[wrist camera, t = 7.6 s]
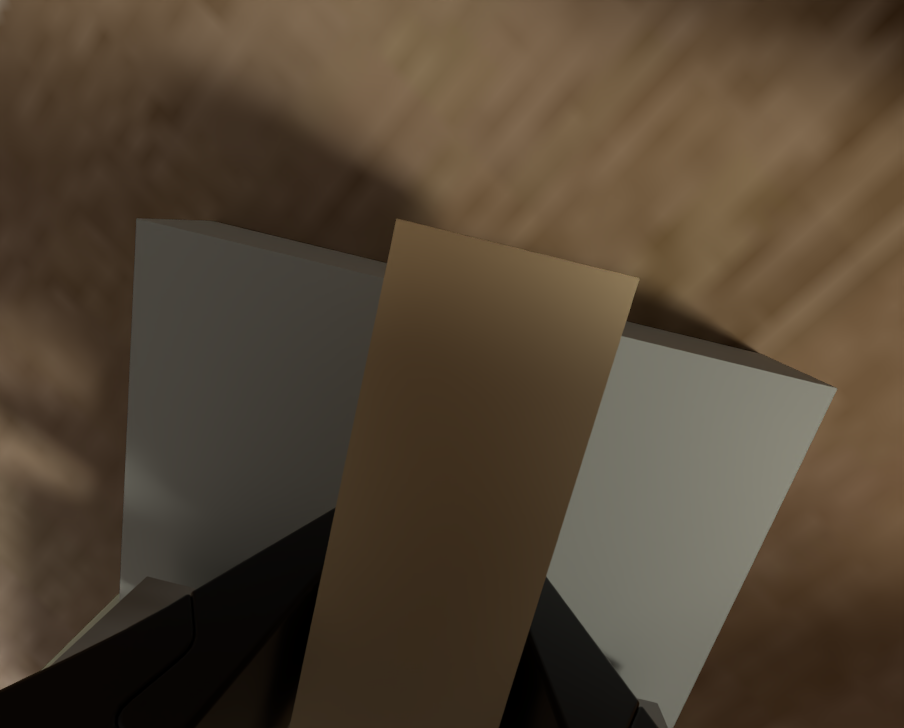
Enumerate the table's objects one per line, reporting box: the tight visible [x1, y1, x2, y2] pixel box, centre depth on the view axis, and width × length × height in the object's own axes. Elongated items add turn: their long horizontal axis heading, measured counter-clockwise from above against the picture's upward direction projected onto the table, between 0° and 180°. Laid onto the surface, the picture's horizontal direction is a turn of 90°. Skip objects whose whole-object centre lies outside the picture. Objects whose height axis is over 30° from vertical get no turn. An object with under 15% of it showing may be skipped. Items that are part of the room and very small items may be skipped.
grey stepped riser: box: [119, 218, 837, 728], centre depth 11 cm, size 13×9×2 cm
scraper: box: [50, 218, 668, 728], centre depth 7 cm, size 11×9×4 cm
